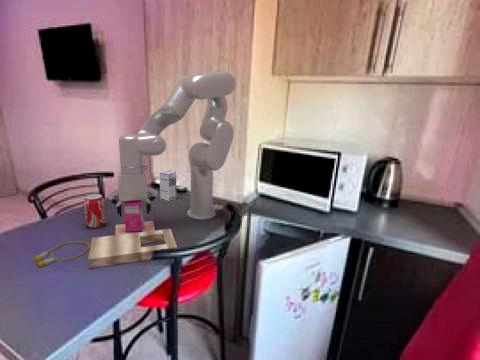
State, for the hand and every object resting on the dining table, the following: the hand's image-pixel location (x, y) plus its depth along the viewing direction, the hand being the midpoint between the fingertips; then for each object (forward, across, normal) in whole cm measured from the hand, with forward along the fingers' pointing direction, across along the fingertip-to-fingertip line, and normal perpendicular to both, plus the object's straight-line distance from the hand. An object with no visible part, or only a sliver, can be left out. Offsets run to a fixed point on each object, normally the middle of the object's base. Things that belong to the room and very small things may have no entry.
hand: (134, 213), depth 110 cm
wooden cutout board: (+7, +1, +15) cm, 17 cm away
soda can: (+7, +14, -9) cm, 18 cm away
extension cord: (+8, +22, +10) cm, 26 cm away
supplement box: (+6, 0, 0) cm, 7 cm away
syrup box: (+7, -17, -32) cm, 37 cm away
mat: (+7, 0, 0) cm, 7 cm away
